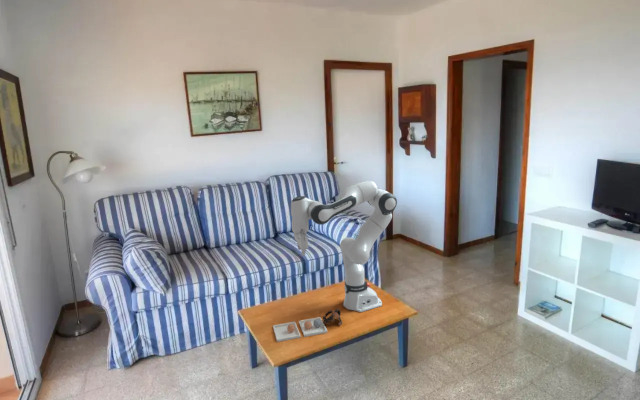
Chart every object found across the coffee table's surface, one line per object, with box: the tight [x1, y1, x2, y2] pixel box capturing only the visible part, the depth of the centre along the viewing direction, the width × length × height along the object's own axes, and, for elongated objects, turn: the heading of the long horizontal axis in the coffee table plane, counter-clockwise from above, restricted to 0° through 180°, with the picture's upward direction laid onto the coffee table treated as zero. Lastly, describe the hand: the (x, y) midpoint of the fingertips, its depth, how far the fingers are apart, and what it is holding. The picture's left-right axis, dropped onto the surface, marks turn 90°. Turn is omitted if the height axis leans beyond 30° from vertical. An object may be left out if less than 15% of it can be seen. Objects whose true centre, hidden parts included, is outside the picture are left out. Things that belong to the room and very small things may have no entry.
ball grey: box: [313, 319, 321, 327], centre depth 203 cm, size 4×4×4 cm
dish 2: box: [298, 316, 328, 338], centre depth 203 cm, size 12×14×2 cm
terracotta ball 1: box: [287, 324, 295, 332], centre depth 200 cm, size 4×4×4 cm
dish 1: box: [272, 321, 302, 343], centre depth 200 cm, size 12×14×2 cm
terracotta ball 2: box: [304, 321, 312, 329], centre depth 202 cm, size 4×4×4 cm
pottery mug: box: [322, 308, 343, 327], centre depth 208 cm, size 12×10×8 cm
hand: (301, 252), depth 206 cm, fingers open, 8 cm apart
